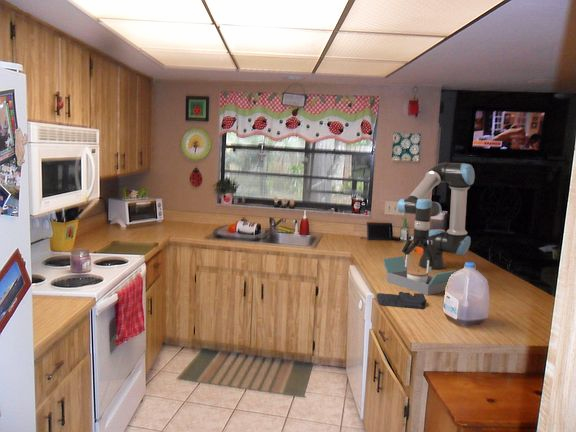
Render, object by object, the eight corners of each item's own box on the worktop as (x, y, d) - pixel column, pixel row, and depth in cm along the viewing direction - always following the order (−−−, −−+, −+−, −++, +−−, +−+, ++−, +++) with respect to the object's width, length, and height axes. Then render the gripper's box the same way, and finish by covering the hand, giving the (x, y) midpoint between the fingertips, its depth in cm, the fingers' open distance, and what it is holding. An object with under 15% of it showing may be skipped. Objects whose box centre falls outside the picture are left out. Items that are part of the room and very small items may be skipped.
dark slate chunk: (374, 296, 223) (375, 286, 222) (421, 300, 221) (422, 290, 220) (377, 306, 208) (378, 296, 207) (428, 310, 206) (429, 300, 205)
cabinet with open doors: (381, 279, 252) (382, 258, 250) (400, 276, 261) (402, 256, 260) (434, 297, 225) (436, 273, 223) (453, 292, 234) (456, 270, 233)
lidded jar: (401, 283, 246) (403, 266, 245) (418, 282, 250) (420, 265, 249) (413, 289, 236) (415, 271, 235) (431, 288, 240) (433, 270, 239)
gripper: (397, 225, 246) (394, 264, 249) (438, 233, 227) (433, 276, 230) (406, 224, 251) (403, 263, 254) (447, 232, 231) (442, 274, 234)
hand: (417, 269), depth 242 cm, fingers open, 13 cm apart
